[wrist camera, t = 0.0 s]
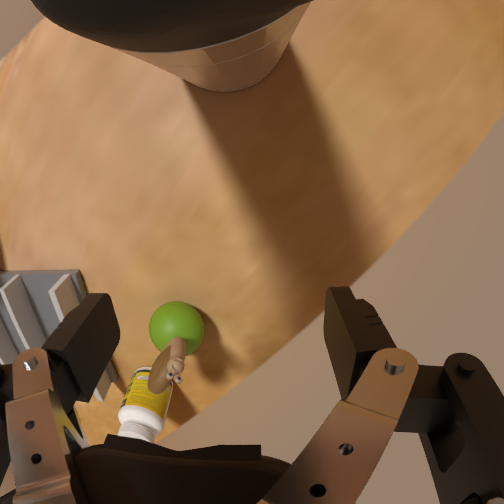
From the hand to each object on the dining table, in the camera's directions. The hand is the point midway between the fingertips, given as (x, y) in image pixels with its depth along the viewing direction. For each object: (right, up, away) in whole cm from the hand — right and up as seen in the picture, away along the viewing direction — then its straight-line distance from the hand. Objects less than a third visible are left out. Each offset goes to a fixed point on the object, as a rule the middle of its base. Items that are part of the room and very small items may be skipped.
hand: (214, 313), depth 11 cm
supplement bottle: (-11, -14, +26) cm, 31 cm away
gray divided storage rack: (-26, -7, +22) cm, 35 cm away
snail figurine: (-6, -4, +21) cm, 22 cm away
